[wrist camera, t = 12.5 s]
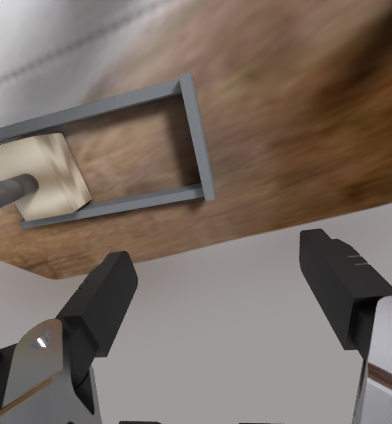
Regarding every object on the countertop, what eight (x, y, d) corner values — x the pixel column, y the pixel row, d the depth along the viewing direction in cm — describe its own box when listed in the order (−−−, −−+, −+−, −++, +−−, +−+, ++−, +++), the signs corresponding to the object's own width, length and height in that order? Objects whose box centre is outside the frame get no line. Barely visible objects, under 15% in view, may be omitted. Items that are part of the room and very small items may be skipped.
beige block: (15, 144, 36) (-70, 158, 25) (61, 132, 34) (-9, 141, 23) (51, 206, 41) (-8, 241, 30) (92, 198, 39) (45, 232, 28)
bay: (-18, 136, 36) (-51, 139, 31) (193, 78, 30) (190, 72, 25) (35, 221, 43) (14, 234, 38) (214, 188, 37) (214, 199, 32)
